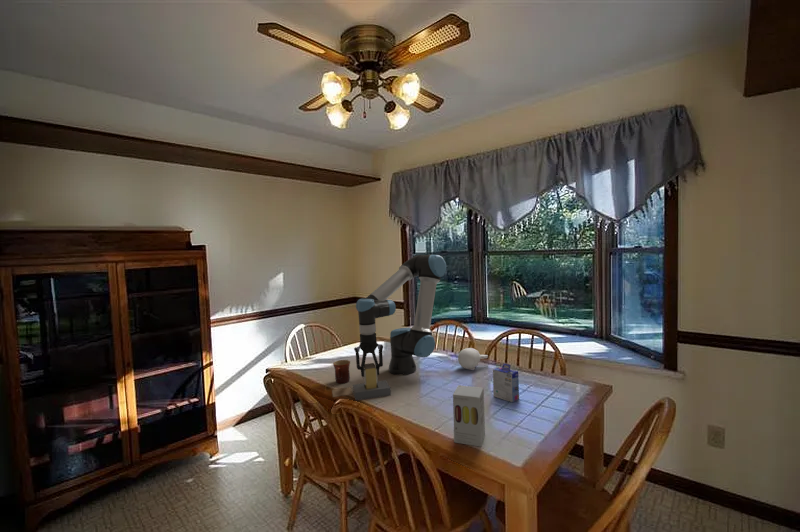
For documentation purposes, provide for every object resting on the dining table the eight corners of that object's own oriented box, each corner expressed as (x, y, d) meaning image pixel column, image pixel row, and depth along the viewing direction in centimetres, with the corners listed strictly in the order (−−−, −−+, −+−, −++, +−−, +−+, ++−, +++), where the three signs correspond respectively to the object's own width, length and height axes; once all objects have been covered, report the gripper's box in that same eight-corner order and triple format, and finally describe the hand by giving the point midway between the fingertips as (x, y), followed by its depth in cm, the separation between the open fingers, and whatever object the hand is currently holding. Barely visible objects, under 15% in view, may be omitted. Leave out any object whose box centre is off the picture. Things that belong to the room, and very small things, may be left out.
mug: (337, 378, 191) (336, 359, 190) (353, 379, 189) (352, 360, 188) (329, 387, 179) (327, 367, 178) (345, 388, 177) (344, 367, 177)
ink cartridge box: (520, 399, 155) (518, 365, 154) (513, 403, 151) (512, 369, 151) (500, 392, 162) (498, 361, 162) (492, 396, 159) (491, 364, 158)
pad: (350, 388, 177) (350, 387, 176) (352, 395, 168) (352, 394, 168) (331, 391, 174) (331, 389, 174) (333, 398, 166) (333, 396, 166)
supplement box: (453, 442, 123) (451, 394, 122) (459, 429, 131) (457, 384, 131) (482, 447, 119) (480, 397, 119) (485, 433, 128) (484, 386, 127)
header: (386, 388, 174) (385, 380, 174) (390, 396, 165) (390, 387, 164) (353, 393, 170) (352, 384, 170) (355, 401, 161) (355, 392, 160)
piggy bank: (467, 376, 189) (484, 370, 199) (473, 356, 187) (490, 351, 197) (450, 364, 198) (467, 360, 208) (455, 345, 196) (472, 341, 206)
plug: (375, 389, 170) (373, 362, 170) (377, 393, 166) (375, 365, 165) (365, 391, 169) (364, 364, 168) (367, 395, 165) (365, 367, 164)
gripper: (384, 329, 172) (387, 377, 173) (347, 333, 168) (350, 382, 169) (388, 332, 165) (391, 382, 166) (349, 336, 160) (352, 388, 161)
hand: (370, 382), depth 167 cm, fingers closed on plug, 4 cm apart
